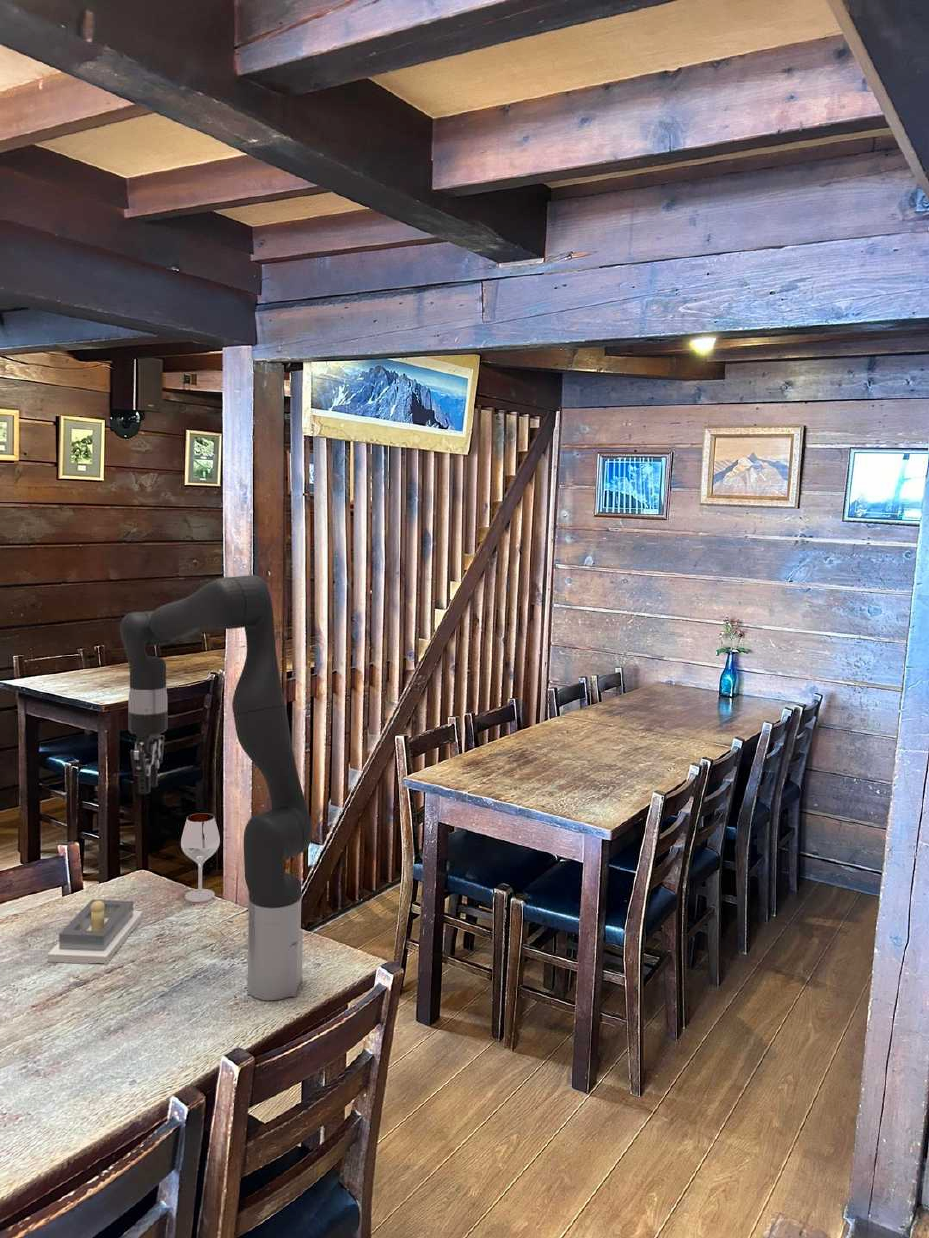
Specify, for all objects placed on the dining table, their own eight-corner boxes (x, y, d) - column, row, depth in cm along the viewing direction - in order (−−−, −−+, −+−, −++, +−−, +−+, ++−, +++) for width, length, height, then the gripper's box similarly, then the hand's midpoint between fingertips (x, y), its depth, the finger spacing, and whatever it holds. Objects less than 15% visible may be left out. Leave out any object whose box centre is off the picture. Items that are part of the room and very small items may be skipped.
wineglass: (180, 889, 200) (181, 812, 198) (218, 886, 203) (219, 810, 201) (180, 905, 193) (181, 825, 190) (219, 902, 195) (220, 822, 193)
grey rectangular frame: (92, 913, 184) (92, 899, 184) (133, 914, 184) (133, 901, 184) (59, 948, 169) (59, 933, 169) (103, 950, 169) (103, 935, 169)
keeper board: (142, 917, 186) (142, 882, 185) (106, 964, 167) (106, 924, 166) (90, 915, 186) (89, 879, 185) (47, 961, 167) (47, 922, 166)
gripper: (154, 717, 175) (154, 802, 177) (177, 701, 189) (177, 780, 191) (116, 715, 175) (116, 800, 177) (142, 700, 189) (142, 778, 191)
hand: (148, 789), depth 184 cm, fingers open, 4 cm apart
